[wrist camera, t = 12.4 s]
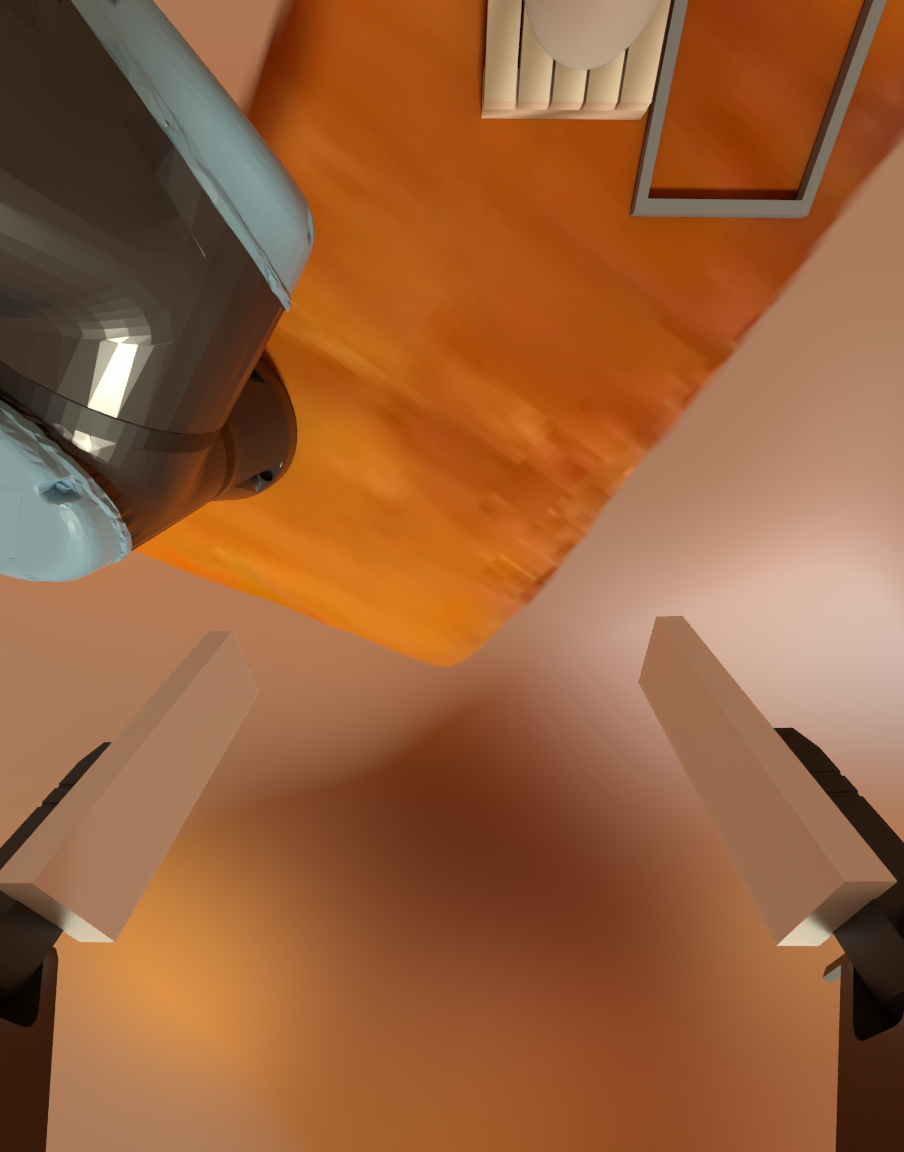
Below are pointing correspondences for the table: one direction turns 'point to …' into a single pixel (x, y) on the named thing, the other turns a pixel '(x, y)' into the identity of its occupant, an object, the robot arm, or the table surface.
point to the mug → (587, 28)
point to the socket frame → (820, 152)
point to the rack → (565, 73)
